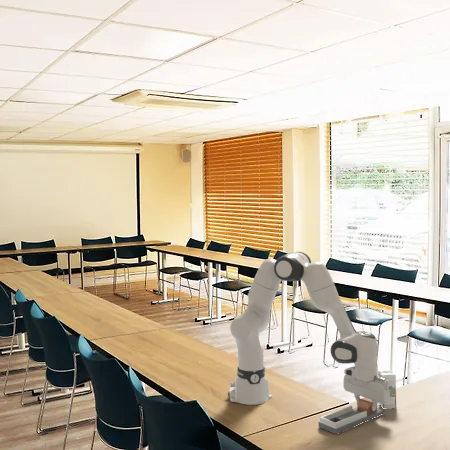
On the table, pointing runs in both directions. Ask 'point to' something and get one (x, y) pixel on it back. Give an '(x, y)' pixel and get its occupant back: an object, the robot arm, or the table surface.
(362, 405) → the block
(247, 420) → the table surface
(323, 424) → the channel
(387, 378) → the syrup box
